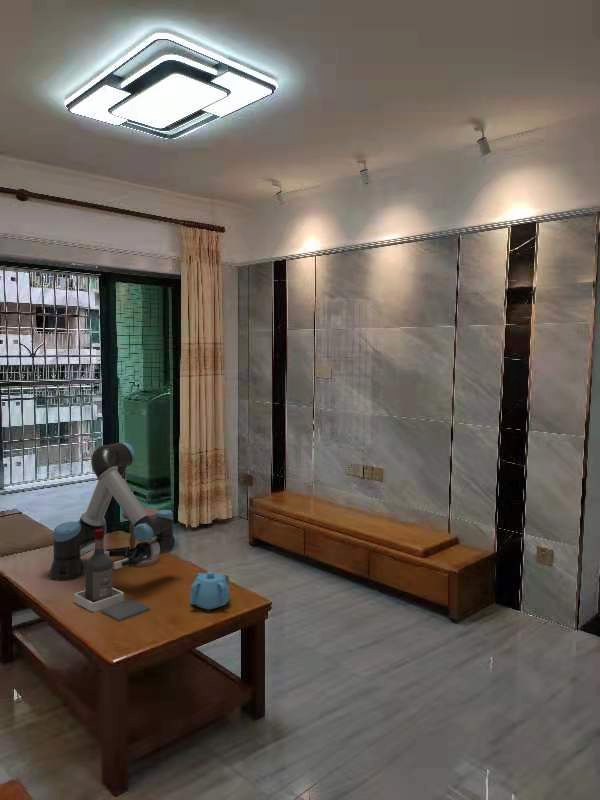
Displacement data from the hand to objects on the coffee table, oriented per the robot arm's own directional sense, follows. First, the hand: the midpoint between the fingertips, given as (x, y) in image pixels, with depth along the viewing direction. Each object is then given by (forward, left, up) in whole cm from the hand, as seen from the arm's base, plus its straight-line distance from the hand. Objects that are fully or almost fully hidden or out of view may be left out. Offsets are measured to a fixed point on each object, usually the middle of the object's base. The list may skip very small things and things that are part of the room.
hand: (104, 562), depth 239 cm
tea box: (-63, +25, -17) cm, 70 cm away
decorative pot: (+35, +27, -17) cm, 47 cm away
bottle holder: (-1, -2, -16) cm, 17 cm away
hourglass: (-29, +39, -17) cm, 52 cm away
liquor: (-1, -2, -17) cm, 17 cm away
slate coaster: (+15, 0, -16) cm, 22 cm away
